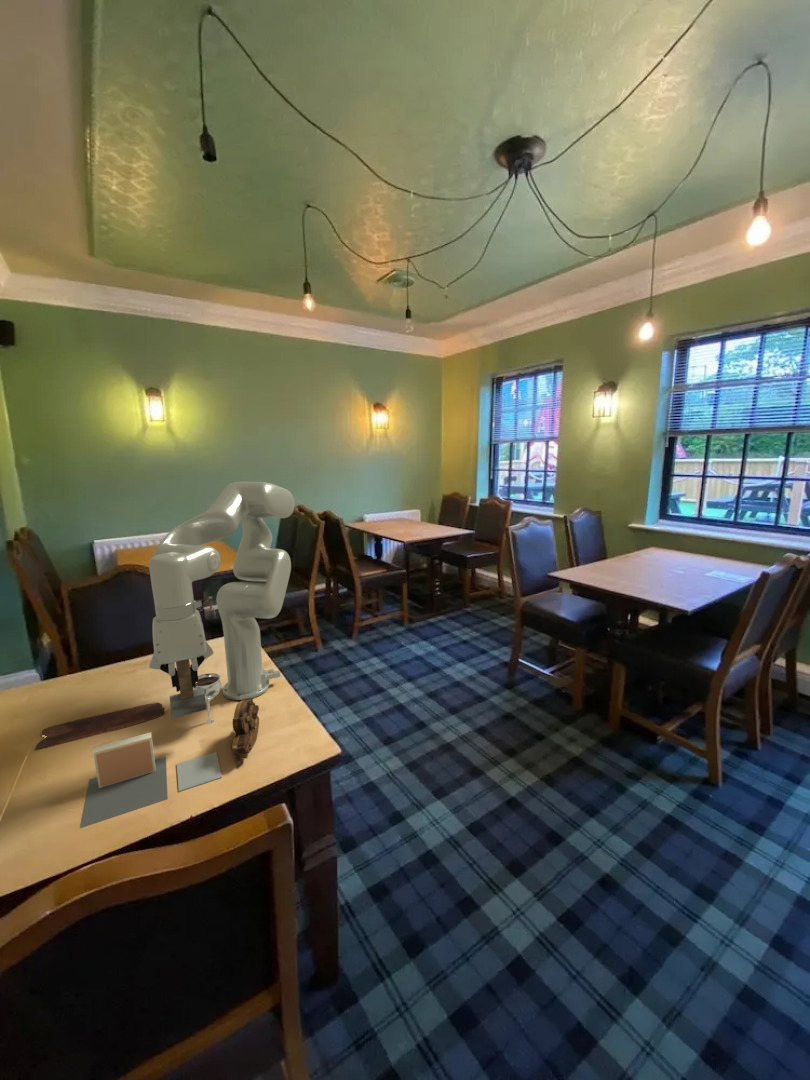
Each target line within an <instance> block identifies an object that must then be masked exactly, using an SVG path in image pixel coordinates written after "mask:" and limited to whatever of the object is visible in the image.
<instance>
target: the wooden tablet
mask: <svg viewBox="0 0 810 1080" xmlns="http://www.w3.org/2000/svg"><path fill="white" fill-rule="evenodd" d="M165 710H166V709H165V707H163V704H161V703H160V702H153V703H145V704H141V705H138V706H137V705H136V706H132V707H128V708H123V709H118V710H114V711H113V710H112V711H110V712H104V713H100V714H95V715H91V716H87V717H82V718H79V719H75V720H70V721H67V722H62V723H59V724H56V725H51V726H49V727H47V728H43V729H42V731H41V733H42V734H40V735H45V736H47V737H46V738H45V739H44V738H42V739H41V740H40V741H39V742H38V743H37V744H36V746H35V748H34V749H35V751H40V750H43V749H47V748H52V747H56V746H59V745H63V744H66V743H67V744H68V743H71V742H75V741H78V740H82V739H87V738H91V737H95V736H98V735H99V736H100V735H103V734H107V733H111V732H114V731H117V730H121V729H124V728H128V727H131V726H134V725H138V724H141V723H144V722H147V721H149V720H153V719H156V718H159V717H161V716H163V715H165V713H166V712H165Z"/></svg>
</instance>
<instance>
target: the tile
mask: <svg viewBox="0 0 810 1080" xmlns="http://www.w3.org/2000/svg"><path fill="white" fill-rule="evenodd" d="M153 743H154V742H153V735H152V732H146V733H143V734H140V735H135V736H132V737H128V738H125V739H124V738H123V739H121V740H120V739H119V740H116V741H113V742H109V743H105V744H102V745H98V746H94V749H93V753H92V754H93V758H94V765H95V771H96V772H95V773H96V777H97V779H98V785H99V788H101V787H105V786H108V785H111V784H114V783H118V782H121V781H124V780H128V779H131V778H134V777H138V776H141V775H144V774H148V773H151V772H154V771H156V765H155V760H156V759H155V752H154V744H153Z"/></svg>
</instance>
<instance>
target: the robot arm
mask: <svg viewBox="0 0 810 1080" xmlns="http://www.w3.org/2000/svg"><path fill="white" fill-rule="evenodd" d="M295 505H296V502H295V498H294V496H293V494H292V492H291V491H290V490H288V489H286V488H284V487H282V486H279V485H277V484H274V483H270V482H268V481H267V482H266V481H234V482H231V483H229V484H227V485H226V486H225V487H224V489H223V490H222V491H221V493H220V494H219V495H218V496H217V497H216V499H215V500H214V501H213V502H212V504H211V505H210V506H209V507H208V509H207V510H206V511H205V512H203V513H201V514H199V515H196V516H194V517H192V518H190V519H188V520H185V521H184V522H183V523H181V524H178V525H176V527H174V528H173V529H171V530H170V531H169V532H168V533H167V534H166V535H165V537H164V538H163V539H161V541H160V542H159V543H158V544H157V547H156V548H155V550H154V552H153V555H152V557H150V559H149V562H148V569H149V570H148V571H149V576H150V582H151V583H150V584H151V591H152V596H153V602H154V609H155V616H154V617H153V618H152V623H151V624H152V629H151V630H152V644H153V654H152V656H151V659H150V662H149V664H148V665H149V668H150V669H154V670H160V671H162V672H164V673H165V674H168V675H169V676H170V679H171V686H172V688H175V690H176V692H180V685H179V678H178V673H177V667H176V662H178V661H183V660H187V659H189V660H190V663H191V664H190V670H191V680H192V687H193V688H194V687H196V683H195V682H197V681H199V680H198V676H199V673H198V670H199V667H200V666H201V665H202V664H203V662H204V661H206V660H207V659H208V658H209V657H211V656H213V655H214V650H213V648H212V647H211V646H210V645H209V644H208V642H207V640H206V636H205V635H206V634H205V629H204V623H203V621H202V617H201V613H200V611H199V610H198V608H201V607H202V606H203V605H202V600H196V599H194V592H193V591H194V590H193V582H196V581H199V580H204V579H207V578H210V577H211V576H213V575H214V574H215V573H216V572H217V571H218V570H219V567H220V566H221V555H220V552H219V551H218V550H217V549H216V548H214V547H212V546H210V545H205V544H209V543H212V542H217V541H220V540H222V539H225V538H229V537H231V536H232V535H234V534H235V533H236V532H237V530H238V528H239V527H240V525H241V526H242V535H241V536H242V537H241V540H240V543H239V546H238V549H237V551H236V556H235V559H234V563H233V567H232V571H233V574H234V576H235V578H237V579H239V580H242V581H233V582H228V583H226V584H223V585H222V586H221V587H220V588H219V590H217V595H216V600H215V601H216V605H217V610H218V613H219V617H220V620H221V624H222V631H223V632H222V633H223V641H224V652H225V653H224V654H225V663H226V675H227V682H226V683H225V684H224V686H223V688H222V694H223V696H224V697H225V698H226V699H229V700H234V701H242V698H250V697H251V698H252V699H254V698H256V697H259V696H261V695H262V694H264V693H265V692H267V690H268V689H269V688H268V687H270V680H271V679H272V680H273V679H278V678H280V677H281V672H280V670H274V668H271V669H266V670H265V669H264V668H263V658H262V657H263V656H262V655H263V654H262V642H261V630H260V626H259V624H258V622H257V620H256V619H273V618H276V617H277V616H278V615H279V613H281V610H282V608H283V604H284V601H285V596H286V592H287V588H288V584H289V580H290V576H291V571H292V562H291V561H292V560H291V557H290V555H289V553H288V552H287V551H286V550H284V549H281V548H271V545H272V542H273V534H272V531H271V529H270V528H269V527H268V525H267V524H266V523H265V521H264V520H263V518H264V519H287V518H289V517H291V515H292V514H293V513H294V511H295ZM246 581H247V582H246ZM248 581H249V582H248Z"/></svg>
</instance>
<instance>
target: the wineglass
mask: <svg viewBox="0 0 810 1080" xmlns="http://www.w3.org/2000/svg"><path fill="white" fill-rule="evenodd" d="M198 680H199V681H197V682H195V683H196V687H194V688H193V690H196V689H200V688H204V693H205V700H206V708H207V716H208V719H207V720H206V721H205V724H207V725H212V724H213V723H215V719H211V703H210V702H211V701H212V700H213V699H214V698H216V697H217V696H218V695H219V693H220V692H221V689H222V682H221V675H220V674H218V673H214V672H211V673H203V674H200V675H199V674H198Z"/></svg>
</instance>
